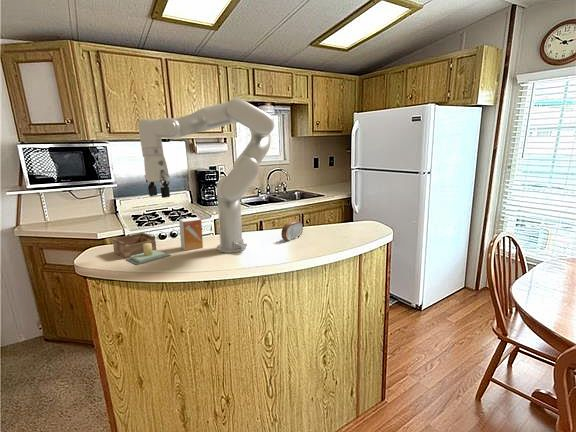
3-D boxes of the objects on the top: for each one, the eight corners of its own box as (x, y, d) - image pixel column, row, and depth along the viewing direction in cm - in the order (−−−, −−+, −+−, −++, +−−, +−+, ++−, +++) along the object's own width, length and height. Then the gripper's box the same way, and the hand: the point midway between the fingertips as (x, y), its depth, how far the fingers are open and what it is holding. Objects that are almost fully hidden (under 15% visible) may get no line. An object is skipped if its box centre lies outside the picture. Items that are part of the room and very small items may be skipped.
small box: (185, 251, 138) (182, 221, 135) (181, 247, 143) (178, 219, 140) (203, 247, 142) (201, 219, 140) (198, 244, 147) (196, 216, 145)
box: (156, 250, 138) (155, 236, 137) (125, 258, 129) (123, 243, 127) (144, 246, 145) (142, 232, 144) (114, 253, 136) (112, 238, 134)
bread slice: (298, 235, 162) (298, 218, 160) (304, 235, 160) (304, 219, 158) (280, 242, 150) (280, 224, 148) (286, 243, 148) (286, 225, 146)
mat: (170, 255, 132) (170, 255, 132) (136, 265, 122) (136, 264, 122) (159, 251, 138) (159, 250, 138) (125, 259, 128) (125, 259, 127)
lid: (166, 255, 131) (164, 242, 130) (140, 262, 123) (138, 249, 122) (156, 251, 136) (155, 239, 135) (130, 258, 128) (129, 245, 127)
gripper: (173, 151, 121) (179, 196, 125) (151, 152, 132) (157, 193, 136) (154, 152, 115) (162, 199, 119) (133, 154, 126) (140, 196, 130)
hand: (159, 196), depth 127 cm, fingers open, 9 cm apart
